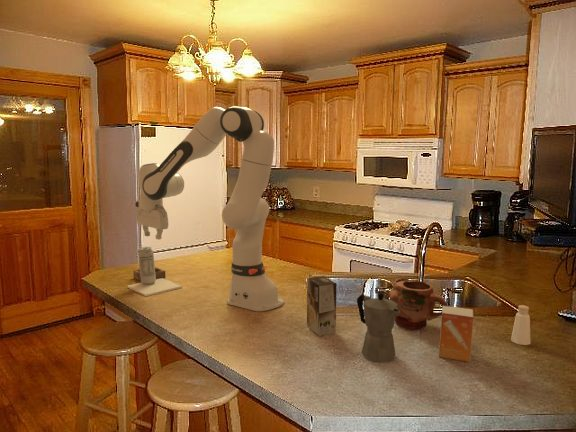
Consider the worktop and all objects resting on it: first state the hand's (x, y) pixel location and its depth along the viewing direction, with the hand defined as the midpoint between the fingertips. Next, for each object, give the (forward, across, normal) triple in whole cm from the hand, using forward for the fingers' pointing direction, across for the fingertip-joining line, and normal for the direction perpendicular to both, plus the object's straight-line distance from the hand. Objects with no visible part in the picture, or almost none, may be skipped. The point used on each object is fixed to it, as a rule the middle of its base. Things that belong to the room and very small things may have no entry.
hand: (152, 237), depth 178 cm
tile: (+21, 0, 0) cm, 21 cm away
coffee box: (+22, -76, -17) cm, 81 cm away
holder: (+21, +14, -5) cm, 26 cm away
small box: (+22, -114, -30) cm, 120 cm away
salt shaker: (+22, -124, -53) cm, 136 cm away
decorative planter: (+22, -96, -41) cm, 107 cm away
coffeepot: (+22, -98, -15) cm, 101 cm away
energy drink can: (+20, +5, 0) cm, 21 cm away
